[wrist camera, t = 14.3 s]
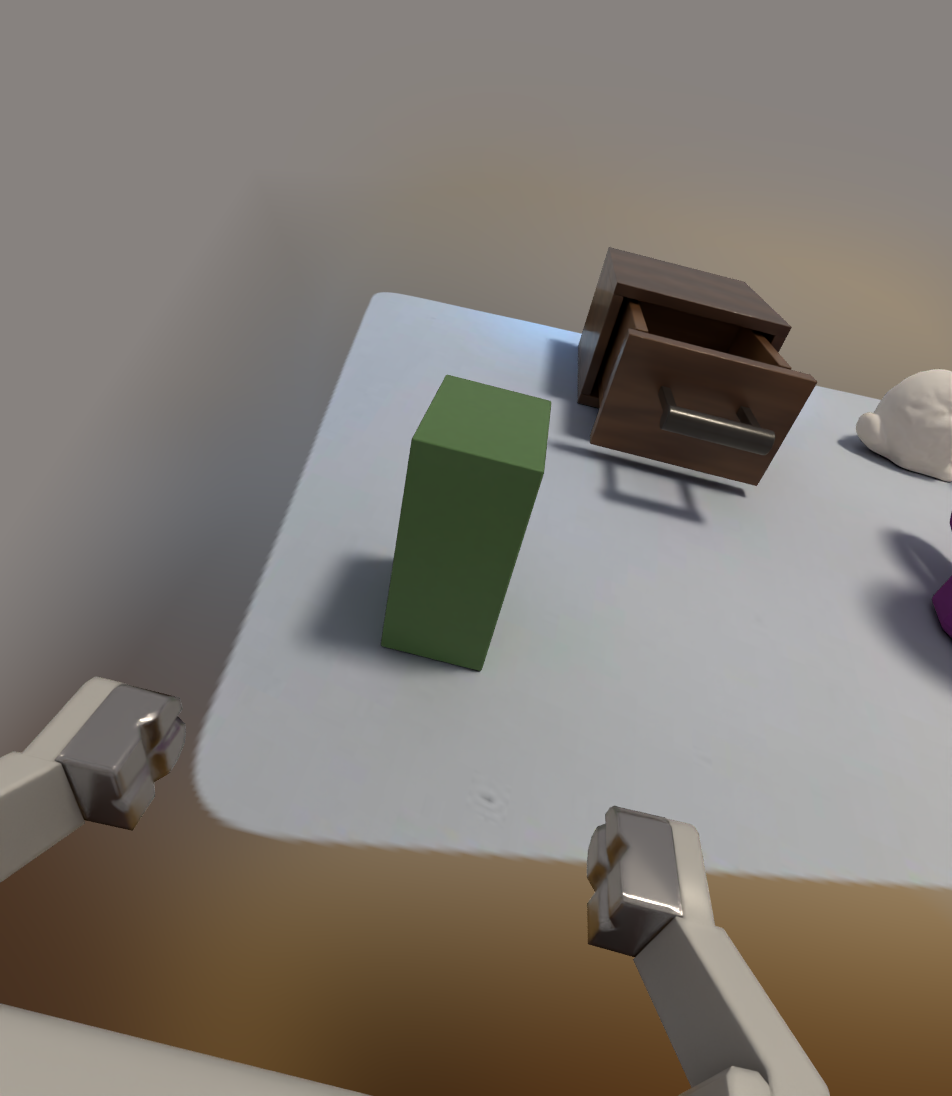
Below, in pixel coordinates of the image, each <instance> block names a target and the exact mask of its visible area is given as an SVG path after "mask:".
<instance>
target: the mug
mask: <svg viewBox="0 0 952 1096" xmlns="http://www.w3.org/2000/svg"><path fill="white" fill-rule="evenodd" d="M950 526H951V530H952V513H951V518H950ZM932 602H933V604H934V607H935V610H936V613H937V615H938V618H939V621H940V624H941V626H942V628H943V630H944V631H945V632H946V633H947V634H948V635H949V636H950V637H951V638H952V576H951V577H950V578H949V579H948V580H947V581H946V582H945V584H944V585H943V586H942V587H941V588H940V589H939V590H938V591H937V592H936V593H935V594H934V595H933V598H932Z"/></svg>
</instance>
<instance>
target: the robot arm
mask: <svg viewBox="0 0 952 1096" xmlns="http://www.w3.org/2000/svg"><path fill="white" fill-rule="evenodd" d="M181 710H182V705H181V701H180V698H179V697H175V696H171V695H167V694H162V693H159V692H155V691H151V690H147V689H142V688H138V687H134V686H131V685H128V684H125V683H121V682H117V681H113V680H108V679H104V678H100V677H94V678H92V679H91V680H89V681H88V682H86V683H85V684H83V686H82V687H81V688H80V689H79V690H78V691H77V692H76V693H75V695H74V696H73V697H72V698H71V699H70V700H69V701H68V702H67V703H66V704H65V706H64V707H63V708H62V709H61V710H60V711H59V712H58V713H57V715H56V716H55V717H54V718H53V719H52V720H51V721H50V723H48V725H47V726H46V727H45V728H44V729H43V730H42V731H41V732H40V733H39V735H38V736H37V737H36V738H35V739H34V740H33V741H32V742H31V743H30V745H29V746H28V747H27V748H26V749H25V750H24V751H23V752H22V753H20V752H15V751H13V752H11V753H9V754H7V755H5V756H3V757H1V758H0V882H1V881H3V880H5V879H6V878H7V877H9V876H10V875H12V874H13V873H15V872H16V871H17V870H19V869H20V868H22V867H23V866H25V865H26V864H27V863H29V862H30V861H31V860H33V859H35V858H36V857H38V856H39V855H40V854H42V853H43V852H45V851H46V850H47V849H49V848H50V847H52V846H53V845H55V844H56V843H57V842H59V841H60V840H62V839H63V838H65V837H66V836H68V835H69V834H70V833H72V832H73V831H75V830H76V829H77V828H79V827H80V826H82V825H83V824H84V823H85V821H84V820H87V821H91V822H96V823H101V824H105V825H110V826H114V827H119V828H123V829H128V830H133V829H134V828H135V826H136V825H137V823H138V821H139V820H140V818H141V817H142V815H143V814H144V812H145V811H146V809H147V807H148V806H149V804H150V803H151V801H152V800H153V798H154V797H155V790H154V782H155V781H157V780H159V779H160V778H162V777H164V776H166V775H167V774H169V773H170V771H171V770H172V768H173V766H174V765H175V763H176V762H177V760H178V758H179V756H180V753H181V750H182V748H183V745H184V743H185V736H186V729H185V723H184V722H183V721H182V720H181V719H180V718H179V717H178V715H179V713H180V712H181ZM587 878H588V880H589V882H590V884H591V886H592V887H593V889H594V891H595V894H594V895H593V896H592V898H591V899H590V900H589V902H588V903H587V920H588V921H587V922H588V944H589V945H593V946H597V947H600V948H604V949H607V950H611V951H615V952H618V953H622V954H625V955H629V956H632V957H635V958H634V959H633V960H634V963H635V965H636V967H637V969H638V971H639V973H640V976H641V978H642V980H643V982H644V984H645V987H646V989H647V991H648V993H649V995H650V997H651V1000H652V1002H653V1004H654V1006H655V1008H656V1010H657V1013H658V1015H659V1017H660V1019H661V1022H662V1023H663V1026H664V1028H665V1030H666V1032H667V1035H668V1037H669V1039H670V1041H671V1043H672V1046H673V1048H674V1050H675V1052H676V1054H677V1056H678V1059H679V1061H680V1063H681V1065H682V1067H683V1070H684V1072H685V1074H686V1076H687V1078H688V1081H689V1083H690V1085H691V1087H692V1088H691V1089H689V1090H687V1091H686V1092H684V1093H682V1094H680V1095H679V1096H830V1094H829V1090H828V1087H827V1085H826V1084H825V1082H824V1081H823V1079H822V1078H821V1076H820V1075H819V1073H818V1072H817V1070H816V1069H815V1067H814V1066H813V1064H812V1063H811V1061H810V1060H809V1058H808V1057H807V1055H806V1053H805V1052H804V1050H803V1049H802V1047H801V1046H800V1044H799V1043H798V1041H797V1040H796V1038H795V1037H794V1035H793V1034H792V1032H791V1031H790V1029H789V1028H788V1026H787V1025H786V1023H785V1021H784V1020H783V1018H782V1017H781V1015H780V1014H779V1012H778V1011H777V1009H776V1008H775V1006H774V1005H773V1003H772V1002H771V1000H770V999H769V997H768V996H767V994H766V993H765V991H764V990H763V988H762V987H761V985H760V984H759V982H758V980H757V979H756V978H755V976H754V974H753V973H752V971H751V970H750V968H749V967H748V965H747V964H746V962H745V961H744V959H743V958H742V956H741V955H740V953H739V952H738V950H737V948H736V947H735V946H734V944H733V942H732V941H731V940H730V938H729V936H728V935H727V933H726V932H725V931H724V929H723V928H721V927H717V926H715V923H714V917H713V912H712V907H711V900H710V895H709V889H708V883H707V878H706V872H705V866H704V861H703V855H702V849H701V843H700V838H699V833H698V832H697V830H696V828H695V827H694V826H693V825H691V824H687V823H683V822H679V821H675V820H670V819H666V818H665V817H660V816H656V815H651V814H647V813H643V812H638V811H634V810H630V809H625V808H621V807H617V806H613V807H610V808H609V810H608V811H607V813H606V814H605V824H604V825H601V826H598V827H597V828H596V830H595V832H594V833H593V835H592V837H591V841H590V845H589V849H588V857H587ZM0 1096H371V1095H367V1094H363V1093H359V1092H355V1091H351V1090H347V1089H343V1088H339V1087H334V1086H331V1085H327V1084H323V1083H319V1082H315V1081H311V1080H306V1079H302V1078H298V1077H295V1076H291V1075H287V1074H282V1073H278V1072H274V1071H270V1070H266V1069H262V1068H258V1067H254V1066H250V1065H246V1064H242V1063H238V1062H234V1061H230V1060H226V1059H222V1058H218V1057H214V1056H210V1055H206V1054H202V1053H198V1052H194V1051H190V1050H186V1049H181V1048H178V1047H174V1046H170V1045H166V1044H161V1043H158V1042H154V1041H150V1040H146V1039H141V1038H137V1037H133V1036H129V1035H125V1034H121V1033H117V1032H113V1031H109V1030H105V1029H101V1028H97V1027H92V1026H89V1025H85V1024H81V1023H77V1022H73V1021H69V1020H65V1019H61V1018H57V1017H53V1016H49V1015H45V1014H40V1013H37V1012H33V1011H29V1010H25V1009H21V1008H16V1007H12V1006H8V1005H4V1004H1V1003H0Z"/></svg>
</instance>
